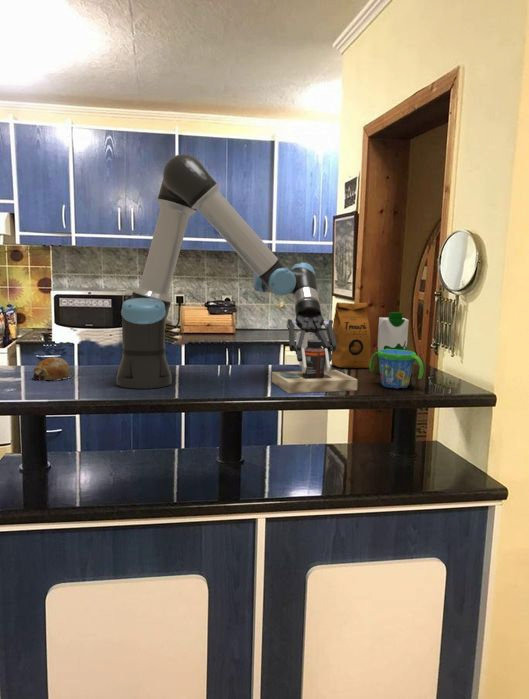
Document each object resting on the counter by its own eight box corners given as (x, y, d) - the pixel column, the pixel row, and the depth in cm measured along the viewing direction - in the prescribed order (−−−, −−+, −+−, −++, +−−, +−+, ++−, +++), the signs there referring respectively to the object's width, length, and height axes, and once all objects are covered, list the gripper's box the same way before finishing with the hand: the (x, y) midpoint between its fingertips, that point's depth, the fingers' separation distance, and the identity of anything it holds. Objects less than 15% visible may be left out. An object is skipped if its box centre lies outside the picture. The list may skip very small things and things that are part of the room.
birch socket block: (288, 393, 152) (288, 381, 152) (271, 382, 166) (272, 370, 166) (357, 390, 158) (357, 378, 157) (335, 379, 172) (335, 368, 172)
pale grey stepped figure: (314, 367, 191) (316, 323, 189) (293, 367, 192) (295, 322, 189) (313, 364, 198) (314, 321, 196) (293, 363, 198) (294, 320, 196)
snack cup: (428, 388, 163) (431, 353, 161) (410, 394, 155) (412, 356, 153) (380, 380, 173) (382, 346, 171) (361, 385, 165) (363, 350, 164)
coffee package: (372, 369, 190) (375, 303, 187) (336, 369, 189) (338, 303, 186) (363, 364, 200) (366, 301, 197) (328, 364, 199) (331, 301, 195)
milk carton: (380, 377, 178) (383, 312, 175) (373, 371, 187) (376, 310, 184) (408, 377, 178) (411, 313, 175) (400, 372, 187) (403, 311, 184)
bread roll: (67, 393, 163) (79, 367, 163) (31, 380, 158) (44, 353, 159) (62, 386, 172) (74, 362, 172) (28, 373, 167) (40, 348, 167)
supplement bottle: (323, 378, 165) (325, 339, 163) (323, 382, 159) (325, 342, 157) (302, 377, 165) (304, 338, 163) (302, 381, 159) (303, 341, 158)
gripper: (335, 314, 176) (346, 377, 162) (274, 314, 173) (280, 377, 160) (340, 298, 170) (352, 362, 156) (277, 297, 167) (284, 362, 154)
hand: (316, 370), depth 158 cm, fingers closed on supplement bottle, 6 cm apart
